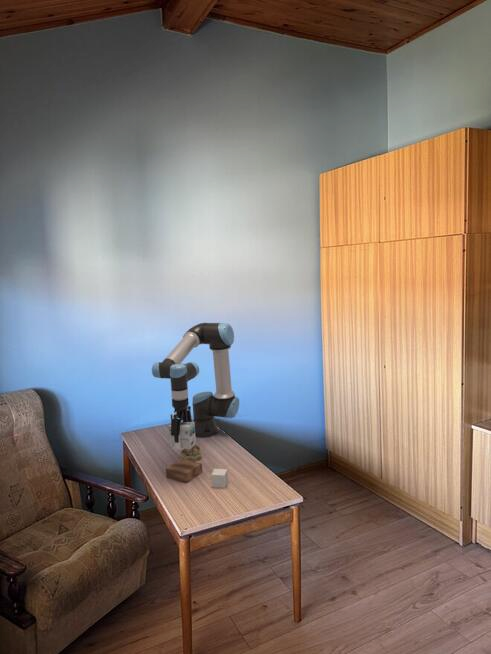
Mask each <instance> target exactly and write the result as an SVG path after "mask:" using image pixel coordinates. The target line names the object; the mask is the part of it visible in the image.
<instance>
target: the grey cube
mask: <svg viewBox="0 0 491 654" xmlns="http://www.w3.org/2000/svg"><path fill="white" fill-rule="evenodd" d="M228 476H229V475H228V468H214V469H213V471H212V473H211V476H210V479H211V488H216V489H217V488H218V489H226V487H227V485H228V483H229V477H228Z"/></svg>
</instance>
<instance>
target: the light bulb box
mask: <svg viewBox="0 0 491 654" xmlns="http://www.w3.org/2000/svg"><path fill="white" fill-rule="evenodd" d="M179 435H180V437H181V449H183V448H184V449H191V448H192V447H193V446H194V445H195V444H196V443H197V441H196V439H197V437H196V436H195V424H194V422H193V421H192V422H183V421H181V425H180V432H179ZM168 436H169V437H168V438H169V448H172V449H173V448H174V449H176V448H175V439H174V436H172V435H171V423H169V425H168Z"/></svg>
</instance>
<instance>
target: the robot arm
mask: <svg viewBox="0 0 491 654" xmlns="http://www.w3.org/2000/svg"><path fill="white" fill-rule="evenodd" d="M233 329H234V328H233V327H232V326H231V325H230V324H229V323H224V322H201V323H198V324H196V325H193V326H192V327H191V328H189V329H188V330H187V331H186V332H185V333H184V334H183V335H182V339H181V340H180V341H179V343H177V345H176V346H175V347H174V348H173V349H172V351H170V352H169V354H168V355H167V356H166V357H165V358H164V359H163V360H162V361H157V362H154V363H153V365H152V367H151V374H152V376H153V377H154V378H158V379H169V380H170V391H171V393H170V394H171V405H172V406H171V407H172V408H173V409H174V411H173V414H172V413H170V424H171V435H172V436H174V439H175V448H174V449H175V450H176V449H177V450H182V448H181V437H180V435H179V432H180V425H181V422H194V424H195V438H208V437H212V436H214V435H216V434H218V431H219V430H218V426H217V423H216V420H215V418H217V417H218V418H226V419H227V418H228V419H232V418H235V417H236V416H237V414H238V411H239V407H240V398H239V397H238V396H236V393H235V392H234V391H233V390H232V389H233V388H232V379H231V377H232V376H231V365H230V363H231V362H230V354H229V350H230V349H231V348H232V345H233V344H234V341H235V333H234V332H235V331H234V330H233ZM200 345H208V346H209V350H210V351H211V352H212V357H213V367H214V368H213V371H214V379H215V380H214V381H215V382H214V383H215V391H216V392H215V393H214V394H213V391H202V392H198V393H196V394H194V395H193V396H192V401H191V402H192V403H191V404H192V407H191V406H190V405H189V404H190V403H189V402H190V401H189V389H188V387H189V386H188V382H189V381H191V380H193V379H196V377H197V376H198V375H199V373H200V367H199V365H198V364H197V362H193V361H189V362H186V363H182V362H183V361H184V360H185V359H186V357H188V355H190V353H191V352H192V351H193V349H195V348H197V347H198V346H200ZM191 408H192V409H191ZM191 410H192V413H191ZM192 414H193V419H192Z"/></svg>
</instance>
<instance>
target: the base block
mask: <svg viewBox="0 0 491 654" xmlns="http://www.w3.org/2000/svg"><path fill="white" fill-rule="evenodd" d="M202 473H203V463H202V462H199V461H190V460H186V459H184V458H180V459H179V460H177V461H174V463H172V464H171V465H169V466H167V467H166V468H165V476H166V477H165V478H167V479H169V480H173V481H176V482H180V483H184V484H188V483H189V482H191V481H193V480H194V479H195V478H197V477H198V476H200V475H201V474H202Z"/></svg>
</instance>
